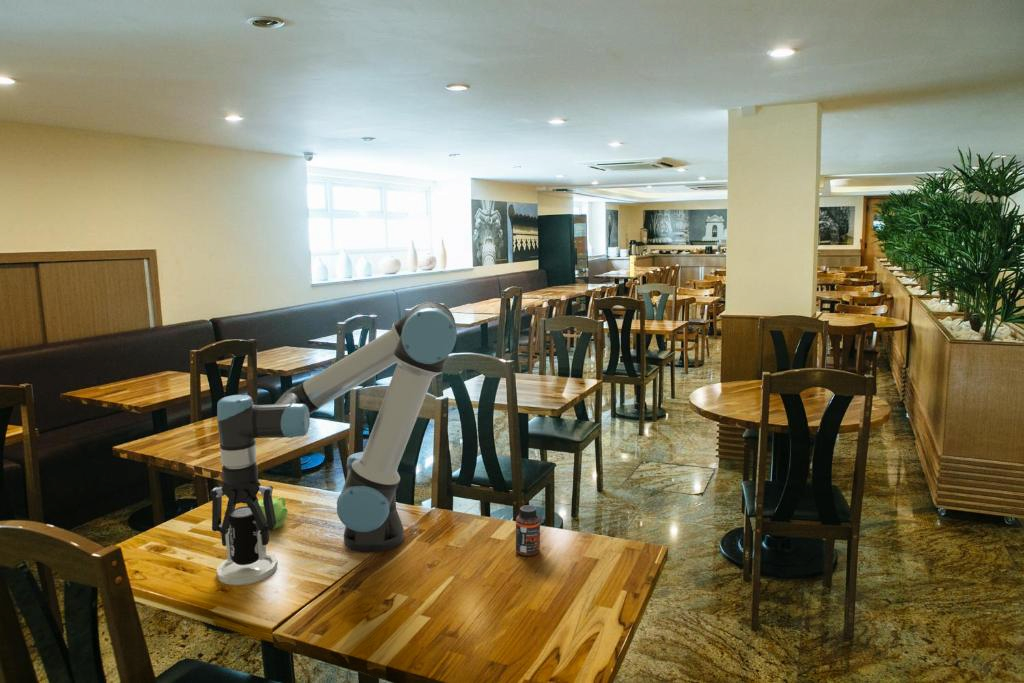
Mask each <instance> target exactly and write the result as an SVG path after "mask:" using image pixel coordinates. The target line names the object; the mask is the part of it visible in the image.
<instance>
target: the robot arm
mask: <svg viewBox="0 0 1024 683" xmlns="http://www.w3.org/2000/svg"><path fill="white" fill-rule="evenodd" d="M457 336H458V335H457V327H456V320H455V318H454V315H453V313H452V312H451V310H450V309H449V308H448V307H446V306H445V305H444V304H442V303H439V302H435V301H426V302H422V303H420V304H418V305H417V306H415V307H414V308H413V309H412V310H410V311H409V312H408V313H407V314H405V315H404V316H402V317H401V318H400V319H398V320H396V321H395V322H393V323H392V325H391V329H390V330H388V331H387V332H385V333H383V334H381V335H380V336H378V337H376V338H375V339H373V340H371V341H369V342H368V343H366V344H365V345H363V346H361V347H360V348H358V349H357V350H354V351H353V352H352V353H350V354H348V355H346V356H345V357H343V358H341V359H340V360H338V361H337V362H335V363H333V364H332V365H329V366H328V367H327V368H325V369H323V370H321V371H320V372H318V373H317V374H314V375H313V376H312V377H310V378H308V379H307V380H305V381H303V382H302V383H300V384H299V385H297V386H293V387H290V388H289V389H287V390H286V391H284V392H283V393H282V395H281V396H280V397H279V398H278V400H277V401H276V402H275V403H274V404H273V403H272V404H254V401H253V398H252V396H251V395H248V394H245V395H243V394H232V395H228V396H225V397H222V398H220V399H219V400H218V401H217V405H216V406H217V409H216V410H217V411H216V412H217V413H216V414H217V415H216V416H217V418H216V421H217V429H218V438H219V451H220V464H221V465H222V466H221V475H222V483H223V484H222V486H221V487H218V486H214V487H213V489H212V490H210V492H209V495H210V498H211V500H212V503H211V504H212V505H211V506H212V507H211V511H212V512H211V531H213V532H219V533H220V534H221V535H220V536H221V545H222V547H225V548H226V557H227V558H226V559H227V561H231V560H232V556H231V545H230V533H229V521H228V520H229V518H230V513H231V514H232V512H233V511H234V510H235V508H236V505H238V504H245V505H246V506H248V507H249V508H250V510H251V512H252V513H253V516H254V518H255V520H256V523H257V525H258V527H259V529H260V531H259V532H258V533H257V539H258V552H259V560H263V559H264V557H265V556H266V552H267V548H266V546H267V545H268V544H269V542H270V535H269V534H270V533H269V532H268V531H269V530H271V531H273V530H274V529H275V528H274V527H275V525H276V518H275V513H274V507H273V501H272V498H273V496H272V495H273V490H274V487H273V486H272V485H269V486H264V485H261V483H260V481H259V472H258V462H257V446H256V439H268V438H269V439H270V438H271V439H273V438H274V439H275V438H276V439H279V438H282V439H283V438H290V439H292V438H297V437H299V438H300V437H304V436H306V435H307V434H308V433H309V428H310V420H311V419H310V415H311V414H313V413H315V412H316V411H318V410H320V409H321V408H322V407H323V406H326V405H327V404H329V403H331V402H333V401H334V400H336V399H337V398H339V397H340V396H343V395H344V394H346V393H347V392H349V391H351V390H353V389H354V388H356V387H358V386H360V385H361V384H363V383H364V382H366V381H368V380H369V379H371V378H373V377H375V376H376V375H378V374H379V373H381V372H383V371H384V370H387V369H388V368H389V367H391V366H393V365H394V364H396V366H395V369H394V371H393V374H392V377H391V379H390V383H389V385H388V387H387V390H386V392H385V395H384V398H383V400H382V403H381V406H380V408H379V411H378V413H377V416H376V419H375V421H374V424H373V427H372V430H371V432H370V434H369V437H368V440H367V443H366V445H365V449H364V451H359V452H355V453H353V454H350V455H349V456H348V457H347V460H346V468H347V477H346V478H345V481H344V484H343V487H342V490H341V492H340V494H339V496H338V497H337V501H336V514H337V517H338V519H339V520H340V522H341V523H342V524H343V525H344V526H345V528H344V532H343V544H344V546H345V547H346V548H347V549H348V550H350V551H352V552H357V553H361V554H373V553H374V554H375V553H376V554H377V553H380V552H381V553H382V552H386V551H389V550H392V549H394V548H396V547H398V546H399V545H401V544H402V542H403V541H404V539H405V529H404V524H403V523H402V520H401V517H400V515H399V512H398V509H397V497H396V496H397V495H396V492H397V489H398V487H399V484H400V482H401V476H400V474H399V472H398V469H399V465H400V462H401V460H402V458H403V454H404V453H405V451H406V447H407V444H408V443H409V440H410V437H411V435H412V432H413V429H414V426H415V424H416V421H417V420H418V416H419V413H420V412H421V409H422V407H423V403H424V402H425V398H426V395H427V393H428V390H429V388H430V387H431V386H430V385H431V383H432V380H433V378H434V377H436V376H438V375H440V374H442V373H443V371H444V367H445V365H446V363H447V360H448V357H449V356H450V354H451V353H452V351H453V350H454V348H455V345H456V341H457ZM259 492H260V496H261V497H262V499H263V503H264V509H265V514H266V518H265V516H264V514H263V512H262V510H261V507H260V505H259V503H258V501H259V499H258V496H257V495H258V493H259ZM223 494H224V495H225V496H226V497H227V499H228V500H227V504H226V510H225V512H224V517H223V521H222V513H223V512H222V507H223V506H222V505H223V503H222V502H223V501H222V500H223V499H222V498H223V497H222V496H223ZM266 520H267V521H266ZM273 528H274V529H273Z"/></svg>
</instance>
